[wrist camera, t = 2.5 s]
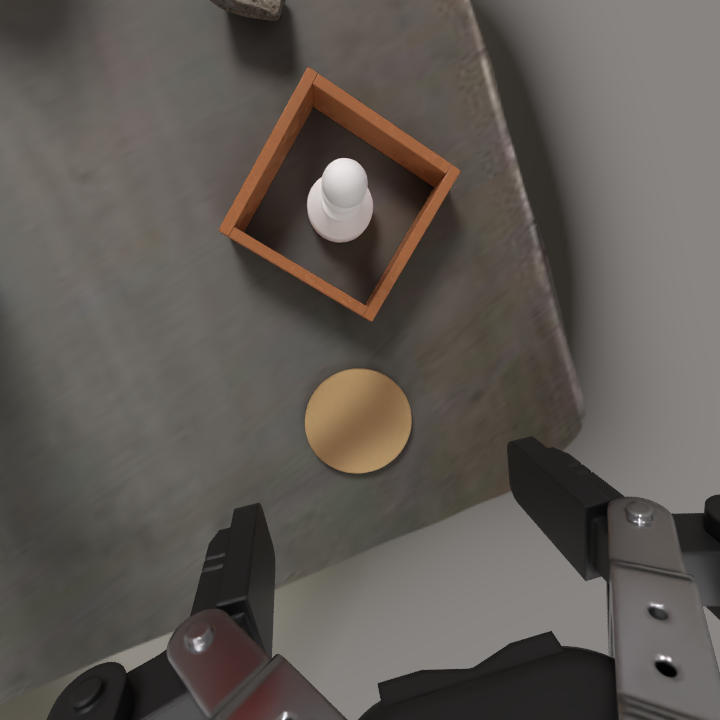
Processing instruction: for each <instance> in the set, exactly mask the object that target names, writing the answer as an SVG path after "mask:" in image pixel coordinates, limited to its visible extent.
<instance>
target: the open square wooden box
mask: <svg viewBox="0 0 720 720" xmlns="http://www.w3.org/2000/svg"><path fill="white" fill-rule="evenodd" d="M313 107H314V108H316V109H317V110H319V111H320V112H322V113H323V114H325V115H326V116H328V117H329V118H331V119H332V120H334V121H335V122H337V123H338V124H340V125H341V126H343V127H344V128H346V129H347V130H349V131H350V132H352V133H353V134H355V135H356V136H358V137H359V138H361V139H362V140H364V141H365V142H367V143H368V144H370V145H371V146H373V147H374V148H376V149H377V150H379V151H380V152H382V153H383V154H385V155H386V156H388V157H389V158H391V159H392V160H394V161H395V162H397V163H398V164H400V165H401V166H403V167H404V168H406V169H407V170H409V171H410V172H412V173H413V174H415V175H416V176H418V177H419V178H421V179H422V180H424V181H425V182H427V183H428V184H430V185H431V186H433V189H432V191H431V193H430V194H429V196H428V198H427V199H426V201H425V203H424V205H423V206H422V208H421V210H420V211H419V213H418V215H417V217H416V218H415V220H414V222H413V223H412V225H411V227H410V228H409V230H408V232H407V234H406V235H405V237H404V239H403V240H402V242H401V244H400V246H399V247H398V249H397V251H396V252H395V254H394V256H393V258H392V259H391V261H390V263H389V264H388V266H387V268H386V270H385V271H384V273H383V275H382V276H381V278H380V280H379V282H378V283H377V285H376V287H375V288H374V290H373V292H372V293H371V295H370V297H369V299H368V300H367V302H366V304H365V305H364V304H362V303H361V302H359V301H357V300H356V299H354V298H352V297H351V296H349V295H347V294H346V293H344V292H342V291H341V290H339V289H337V288H336V287H334V286H332V285H330V284H329V283H327V282H325V281H324V280H322V279H320V278H319V277H317V276H315V275H314V274H312V273H310V272H309V271H307V270H305V269H304V268H302V267H300V266H299V265H297V264H295V263H294V262H292V261H290V260H289V259H287V258H285V257H284V256H282V255H280V254H279V253H277V252H275V251H274V250H272V249H270V248H269V247H267V246H265V245H264V244H262V243H260V242H259V241H257V240H255V239H254V238H252V237H250V236H249V235H247V234H245V233H244V232H245V230H246V228H247V226H248V225H249V223H250V221H251V219H252V217H253V216H254V214H255V212H256V210H257V208H258V206H259V205H260V203H261V201H262V199H263V197H264V196H265V194H266V192H267V190H268V188H269V187H270V185H271V183H272V181H273V179H274V177H275V176H276V174H277V172H278V170H279V168H280V167H281V165H282V163H283V161H284V159H285V158H286V156H287V154H288V152H289V150H290V148H291V147H292V145H293V143H294V141H295V139H296V138H297V136H298V134H299V132H300V130H301V129H302V127H303V125H304V123H305V121H306V119H307V118H308V116H309V114H310V112H311V110H312V109H313ZM459 173H460V170H459V169H458V168H456V167H455V166H453V165H451V164H450V163H449V162H447V161H446V160H444V159H443V158H441V157H440V156H439V155H437V154H436V153H434V152H433V151H431V150H430V149H428V148H427V147H425V146H424V145H422V144H421V143H419V142H418V141H416V140H415V139H414V138H412V137H411V136H409V135H408V134H406V133H405V132H403V131H402V130H400V129H399V128H397V127H396V126H394V125H393V124H392V123H390V122H389V121H387V120H386V119H384V118H383V117H381V116H380V115H378V114H377V113H375V112H374V111H372V110H371V109H369V108H368V107H367V106H365V105H364V104H362V103H361V102H359V101H358V100H356V99H355V98H353V97H352V96H350V95H349V94H347V93H346V92H345V91H343V90H342V89H340V88H339V87H337V86H336V85H334V84H333V83H331V82H330V81H328V80H327V79H325V78H324V77H322V76H321V75H320V74H318V73H317V72H315V71H314V70H312V69H311V68H309V67H307V69H306V71H305V73H304V75H303V76H302V78H301V80H300V82H299V84H298V86H297V87H296V89H295V91H294V93H293V95H292V97H291V98H290V100H289V102H288V104H287V106H286V108H285V109H284V111H283V113H282V115H281V117H280V118H279V120H278V122H277V124H276V126H275V128H274V129H273V131H272V133H271V135H270V137H269V139H268V140H267V142H266V144H265V146H264V148H263V150H262V151H261V153H260V155H259V157H258V159H257V161H256V162H255V164H254V166H253V168H252V170H251V172H250V173H249V175H248V177H247V179H246V181H245V183H244V184H243V186H242V188H241V190H240V192H239V194H238V195H237V197H236V199H235V201H234V203H233V205H232V206H231V208H230V210H229V212H228V214H227V215H226V217H225V219H224V221H223V223H222V225H221V226H220V228H219V231H220V232H221V233H223V234H224V235H225V236H227V237H228V238H230V239H232V240H233V241H235V242H237V243H238V244H240V245H242V246H243V247H245V248H247V249H248V250H250V251H252V252H253V253H255V254H257V255H258V256H260V257H262V258H264V259H265V260H267V261H269V262H270V263H272V264H274V265H275V266H277V267H279V268H280V269H282V270H284V271H285V272H287V273H289V274H290V275H292V276H294V277H296V278H297V279H299V280H301V281H302V282H304V283H306V284H307V285H309V286H311V287H312V288H314V289H316V290H317V291H319V292H321V293H322V294H324V295H326V296H328V297H329V298H331V299H333V300H334V301H336V302H338V303H339V304H341V305H343V306H344V307H346V308H348V309H349V310H351V311H353V312H354V313H356V314H358V315H360V316H361V317H363V318H365V319H366V320H369V321H371V322H372V321H373V319H374V318H375V316H376V314H377V313H378V311H379V309H380V308H381V306H382V304H383V302H384V301H385V299H386V297H387V296H388V294H389V292H390V291H391V289H392V287H393V285H394V284H395V282H396V280H397V279H398V277H399V275H400V274H401V272H402V270H403V268H404V267H405V265H406V263H407V262H408V260H409V258H410V257H411V255H412V253H413V251H414V250H415V248H416V246H417V245H418V243H419V241H420V240H421V238H422V236H423V234H424V233H425V231H426V229H427V228H428V226H429V224H430V223H431V221H432V219H433V217H434V216H435V214H436V212H437V211H438V209H439V207H440V206H441V204H442V202H443V200H444V199H445V197H446V195H447V194H448V192H449V190H450V189H451V187H452V185H453V183H454V182H455V180H456V178H457V177H458V175H459Z"/></svg>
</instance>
